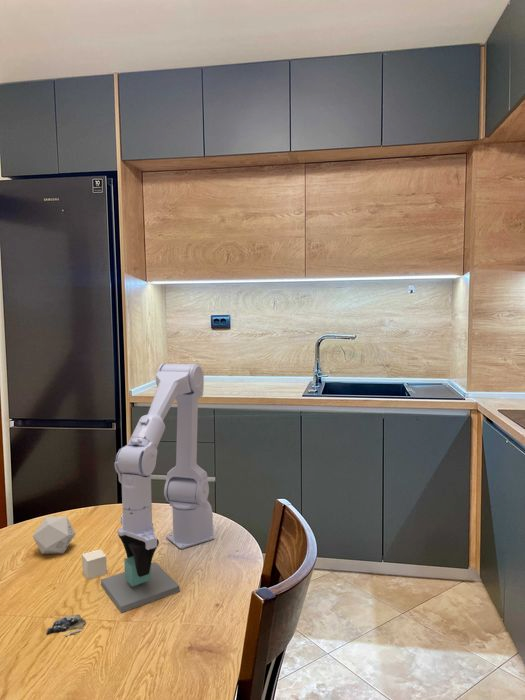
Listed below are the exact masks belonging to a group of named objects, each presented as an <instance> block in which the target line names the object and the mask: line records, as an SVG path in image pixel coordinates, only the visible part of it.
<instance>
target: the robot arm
mask: <svg viewBox="0 0 525 700" xmlns="http://www.w3.org/2000/svg"><path fill="white" fill-rule="evenodd" d="M204 379H205V375H204V371H203V368H202V366H200V365H199V363H166V362H163V363H161V364H160V365H159V367H158V368H157V370H156V374H155V384H156V387H157V388H156V391H155V393H154V395H153V399H152V401H151V404H150V407H149V409H148V412H147V414H145V415H142V416H141V417H140V418H139V420H138V422H137V424H136V427H135V428H134V430H133V432H132V433H131V436H130V439H129V440H128V442H127V444H126V445H124V446H122V447H121V448H119V449H118V452H117V453H116V456H115V462H114V470H115V472H116V473H117V476H118V482H119V483H120V484H121V498H122V499H121V502H122V503H121V504H122V505H121V507H122V515H120V525H121V528H118V529H117V532H116V533H117V536H118V537H119V539H120V542H121V543H122V545H123V547H124V551H125V553H126V558H129V557H132V556H134V559H135V564H136V570H137V574H138V576H139V577H141V576H144V575H147V574H149V571H150V567H151V563H153V558H154V554H155V552H156V550H157V548H158V546H159V544H160V541H159V539H158V537H157V536H156V535H155V529H154V528H155V527H154V523H153V506H152V505H153V504H152V474H153V472H154V470H155V468H156V466H157V465H156V464H157V457H158V456H157V455H158V451H159V450H158V446H159V444H160V442H161V440H162V437H163V434H164V433H165V430H166V425H165V422H164V419H165V418H166V416H167V414H168V412H170V411H169V410H170V409H171V407H172V405H173V403H174V401H176V402H177V412H176V413H177V414H176V416H177V417H176V453H175V454H176V456H175V459H176V460H175V466H174V467H172V468H171V469H169V471H167V473H166V478H165V479H166V480H165V483H164V487H163V488H164V489H163V496H164V498H165V500H166V501H167V502H169V507H172V508H171V510H172V534H169V535H168V534H167V536H166V538H167V539H168V540H169V541H170V542H171V543H173V545H175V546H176V547H177V548H178V549H180V550H184V549H186V548H189V547H192V546H195V545H198V544H202V543H205V542H208V541H211V540H214V539H216V538H215V535H214V517H213V515H214V514H213V507H212V505H211V503H210V501H209V500H208V497H209V493H210V486H209V480H208V472H207V471H206V470H204V469H203V468H202V467H200V466H199V464H198V463H197V462H198V460H197V455H198V453H197V452H198V445H197V444H198V420H199V419H198V416H199V415H198V414H199V413H198V410H199V406H198V405H199V398H201V397H203V396H204V386H205V385H204V384H205V383H204Z"/></svg>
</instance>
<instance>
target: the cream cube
mask: <svg viewBox="0 0 525 700" xmlns="http://www.w3.org/2000/svg"><path fill="white" fill-rule="evenodd" d="M81 563H82V565H81V567H82V574H84V576H85V577H86V580H91V579H93V578H97V577H100V576H103V575H106V574H108V573H107V571H108V570H107V568H108V567H107V565H108V564H107V555H106V554H105V552H104V551H103V550H102V549H101V548H99V549H96V550H93V551H89V552H85V553H82V554H81Z"/></svg>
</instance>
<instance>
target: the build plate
mask: <svg viewBox="0 0 525 700" xmlns="http://www.w3.org/2000/svg"><path fill="white" fill-rule="evenodd" d="M100 586H101V588H102V589H104V592H105V593H106V594H107V595H108V598H110V599H111V601H112V602H113V604H114V605H115V606H116V608H117V609H118V611H119V612H120V613H121V614H122V613H125V612H127V611H130V610H133V609H136V608H140V607H141V606H144V605H147V604H150V603H152V602H155V601H157V600H161V599H164V598H165V597H169V596H171V595H174V594H177V593H180V591H181V590H180V588H181V587H180V584H178V583H177V582H176V581H175V579H173V577H171V576H170V575H169V573H167V572H166V571H165V570H164V569H163V568H162V567H161V566H160V565H159V564H158V563H157V562H156V561H154V562H151V580H150V581H147V582H144V583H141V584H138V585H135V586H131V584H130V583H129V582H128V581H127V580H126V578H125V571H123V572H120V573H117V574H114V575H111V576H108V577H105V578H101V579H100Z"/></svg>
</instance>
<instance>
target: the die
mask: <svg viewBox="0 0 525 700" xmlns="http://www.w3.org/2000/svg"><path fill="white" fill-rule="evenodd" d="M75 535H76V532H75V530H74V528H73V526H72V524H71V521H70V520H69V518H68V517H67V516H46V517H45V518H44V519H43V520H42V522H41V523H40V524H39V525H38V528H37V529H36V531H35V532H34V533H33V534H32V538H33V540H34V542H35V544H36V545H37V548H38V549H39V551H40V553H41V554H42V555H45V554H47V555H49V554H54V555H55V554H56V555H57V554H64V553H65V551H66V550H67V548H68V546H69V545H70V543H71V542H72V540H73V539H74V537H75Z"/></svg>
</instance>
